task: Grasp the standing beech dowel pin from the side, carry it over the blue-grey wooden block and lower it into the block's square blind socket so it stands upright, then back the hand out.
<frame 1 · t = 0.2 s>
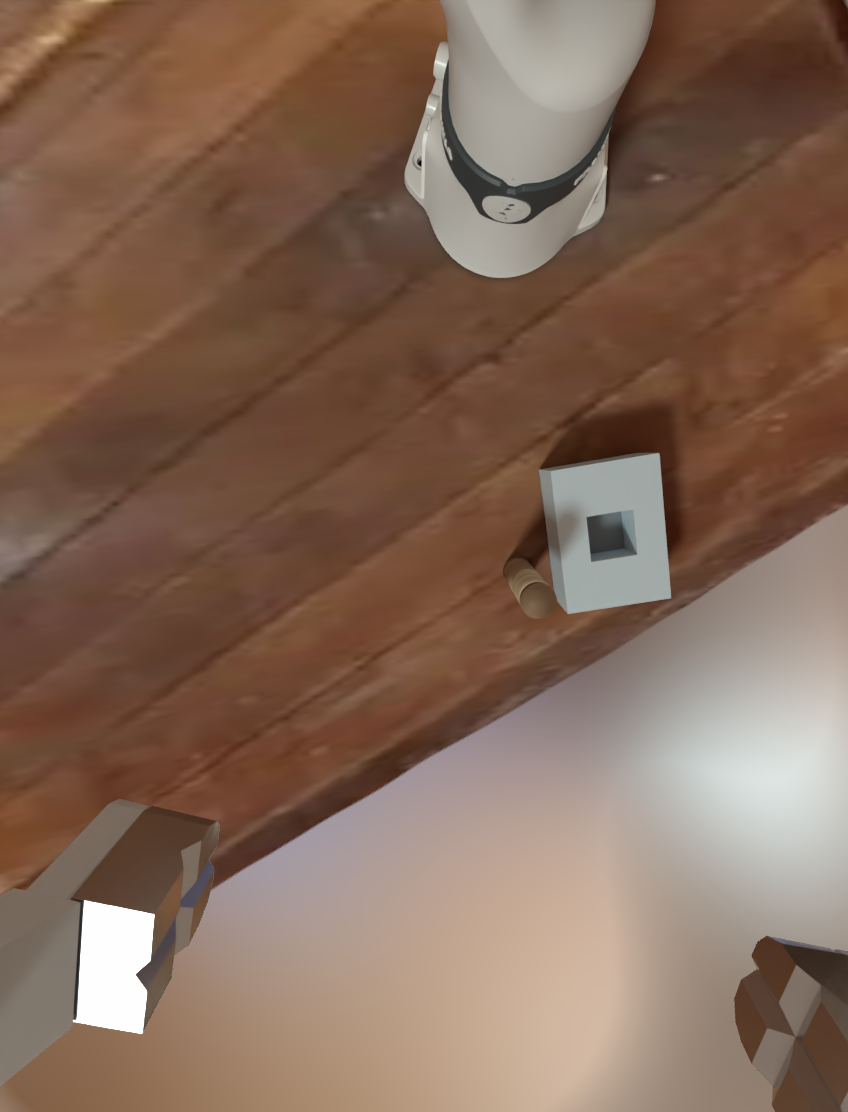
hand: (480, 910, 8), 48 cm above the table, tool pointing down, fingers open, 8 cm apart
socket block: (594, 527, 54), on the table
dowel pin: (517, 570, 55), on the table
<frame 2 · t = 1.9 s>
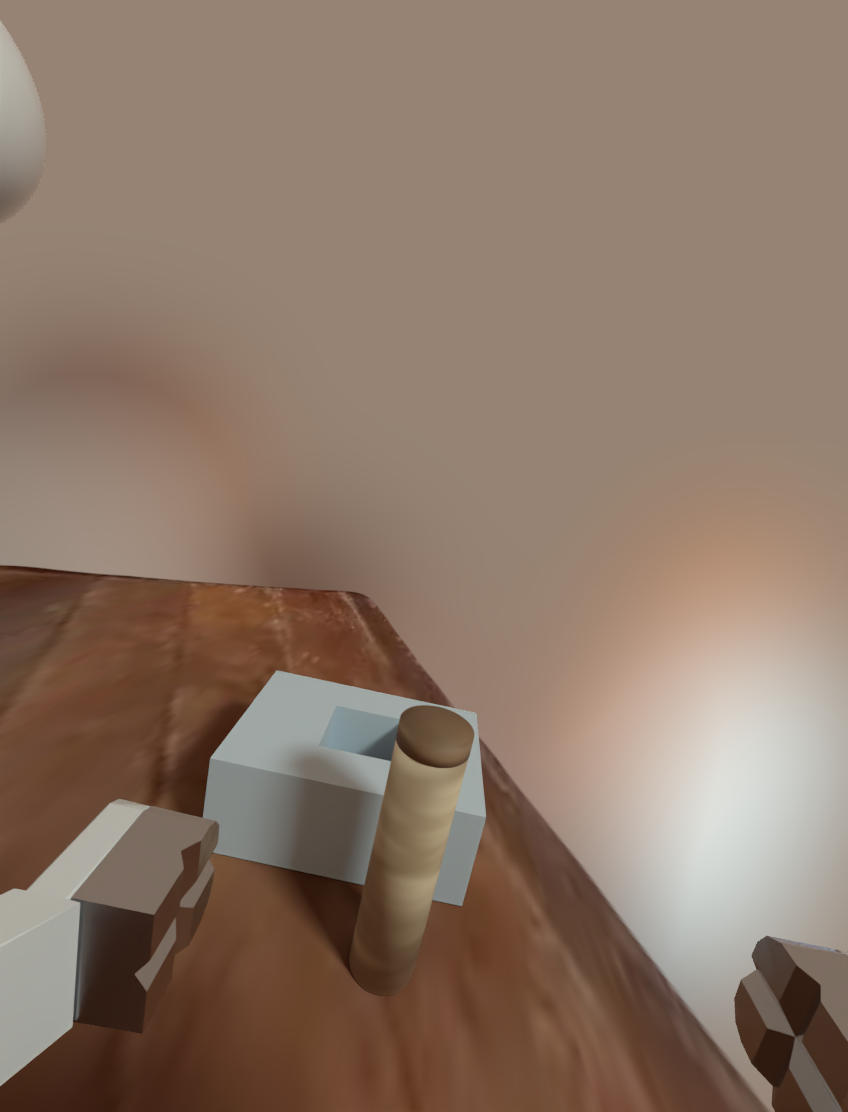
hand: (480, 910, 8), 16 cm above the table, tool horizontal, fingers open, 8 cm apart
socket block: (348, 810, 32), on the table
dowel pin: (381, 960, 23), on the table
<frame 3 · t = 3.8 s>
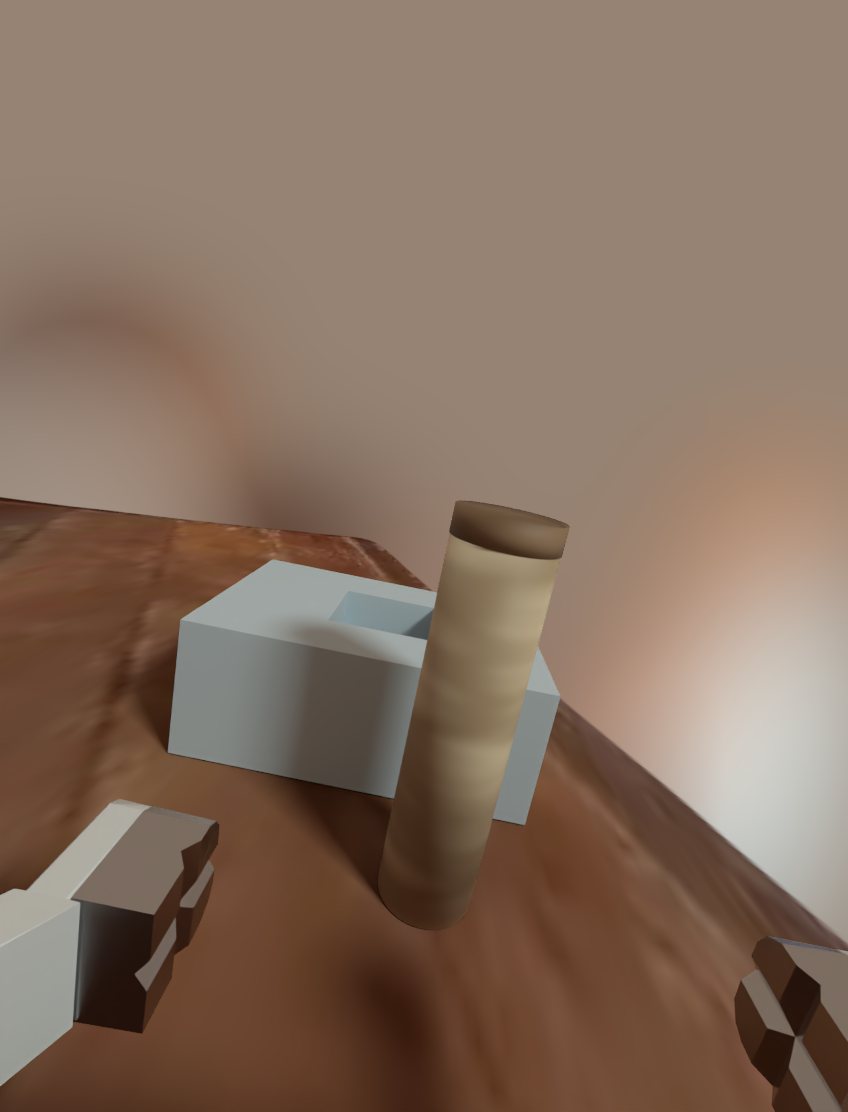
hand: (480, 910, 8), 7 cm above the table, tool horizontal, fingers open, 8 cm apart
socket block: (366, 720, 25), on the table
dowel pin: (424, 885, 16), on the table
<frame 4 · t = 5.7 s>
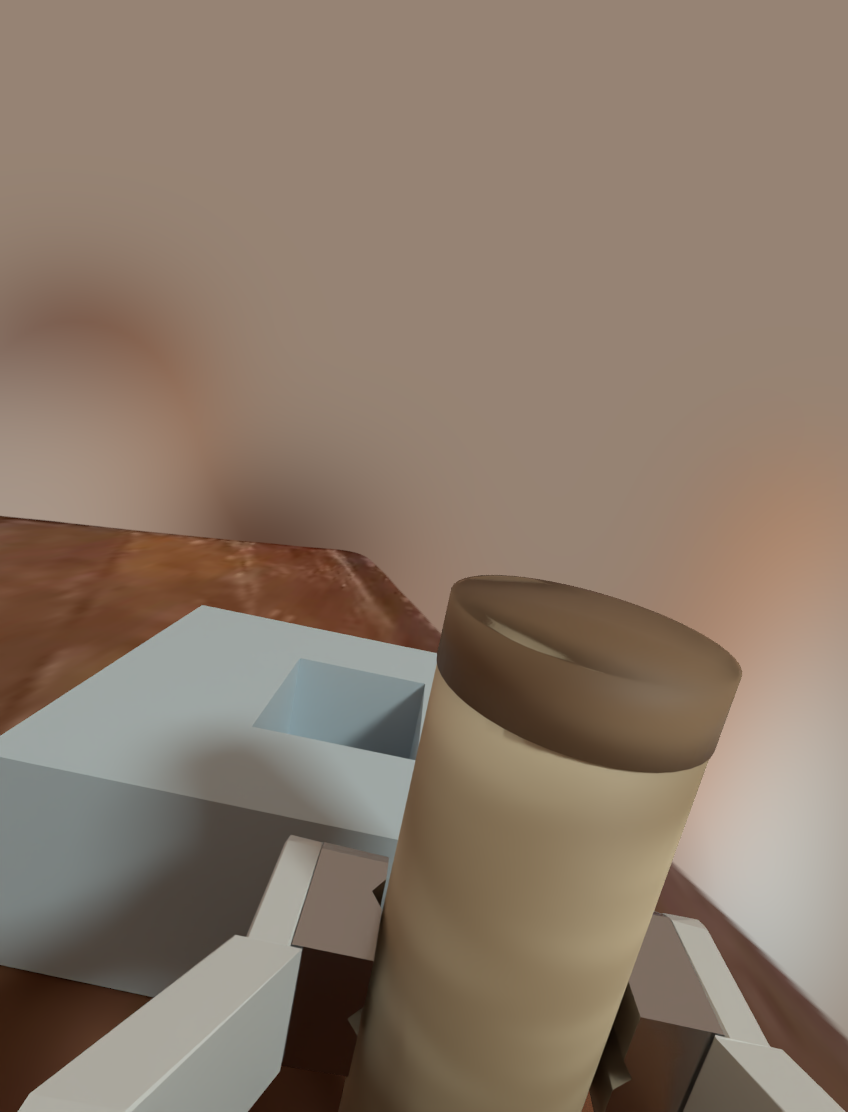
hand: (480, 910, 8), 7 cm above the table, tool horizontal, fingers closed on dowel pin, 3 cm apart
socket block: (322, 853, 17), on the table
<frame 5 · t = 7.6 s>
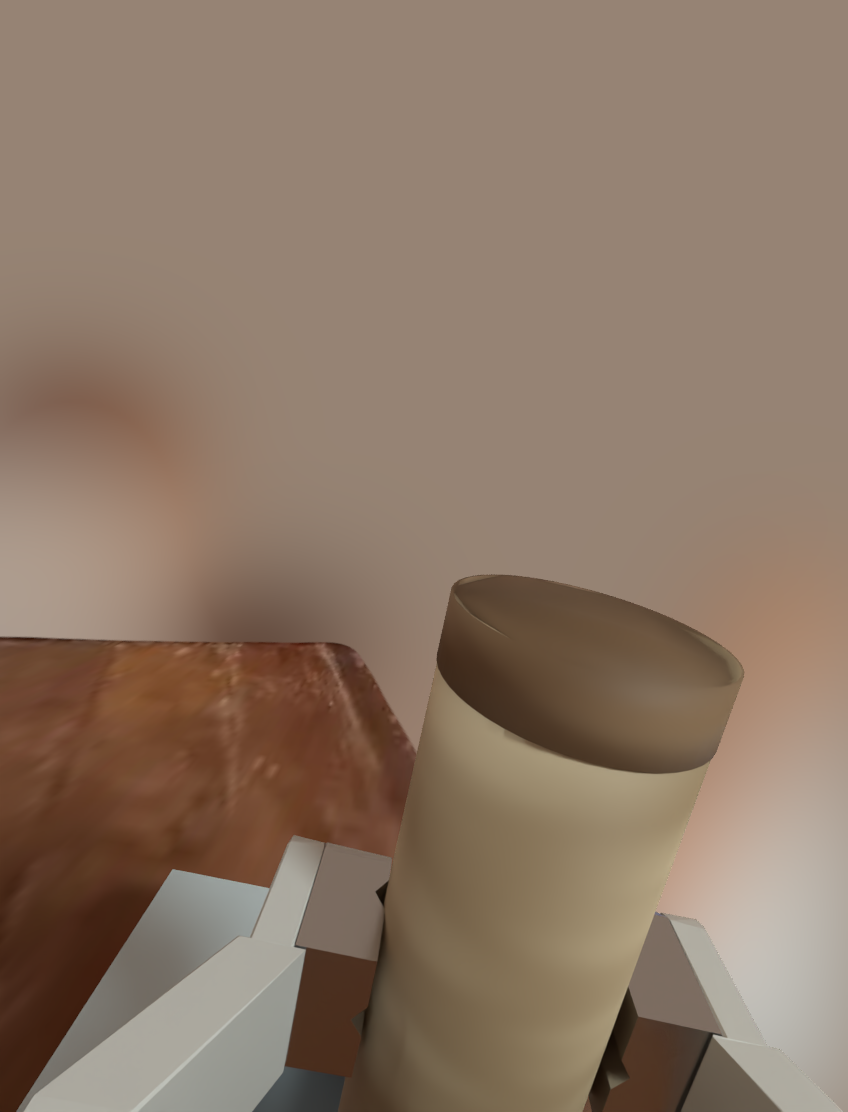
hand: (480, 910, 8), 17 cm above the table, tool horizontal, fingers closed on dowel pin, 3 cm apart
when the fingers open (10 cm above the table, at t = 9.5 s): dowel pin stays where it is, resting on socket block.
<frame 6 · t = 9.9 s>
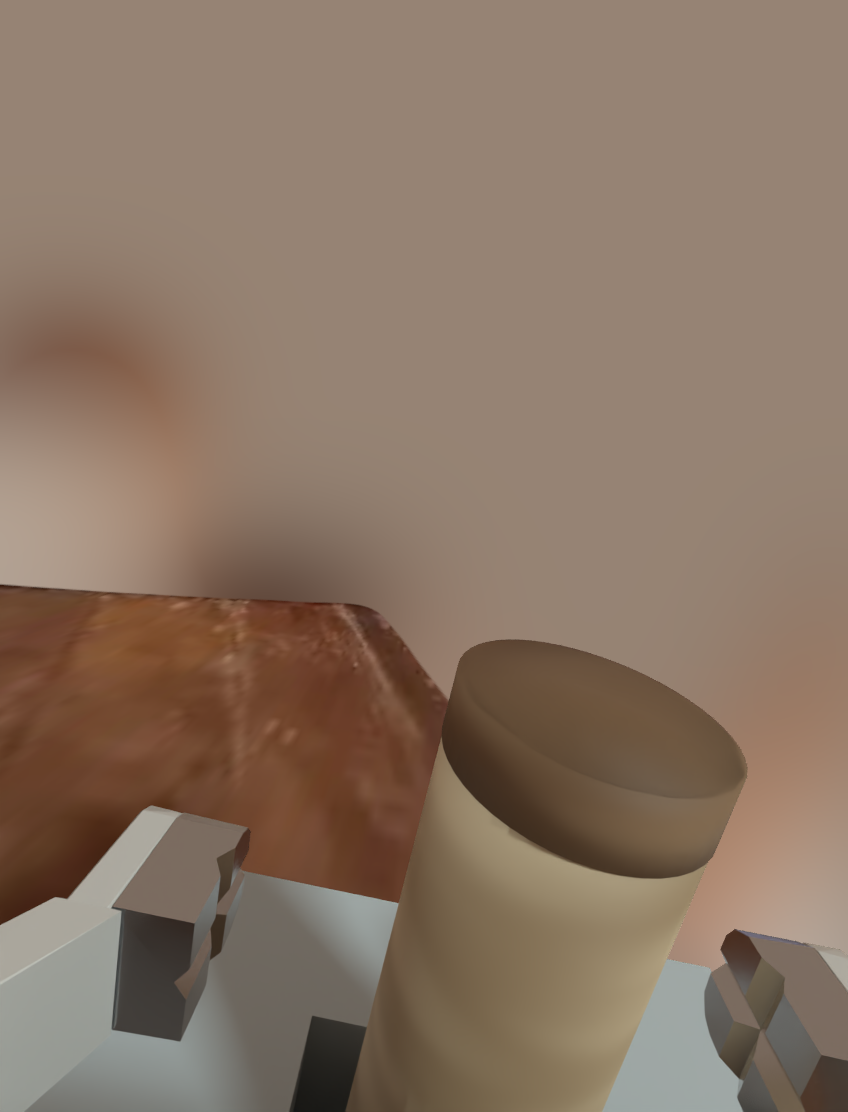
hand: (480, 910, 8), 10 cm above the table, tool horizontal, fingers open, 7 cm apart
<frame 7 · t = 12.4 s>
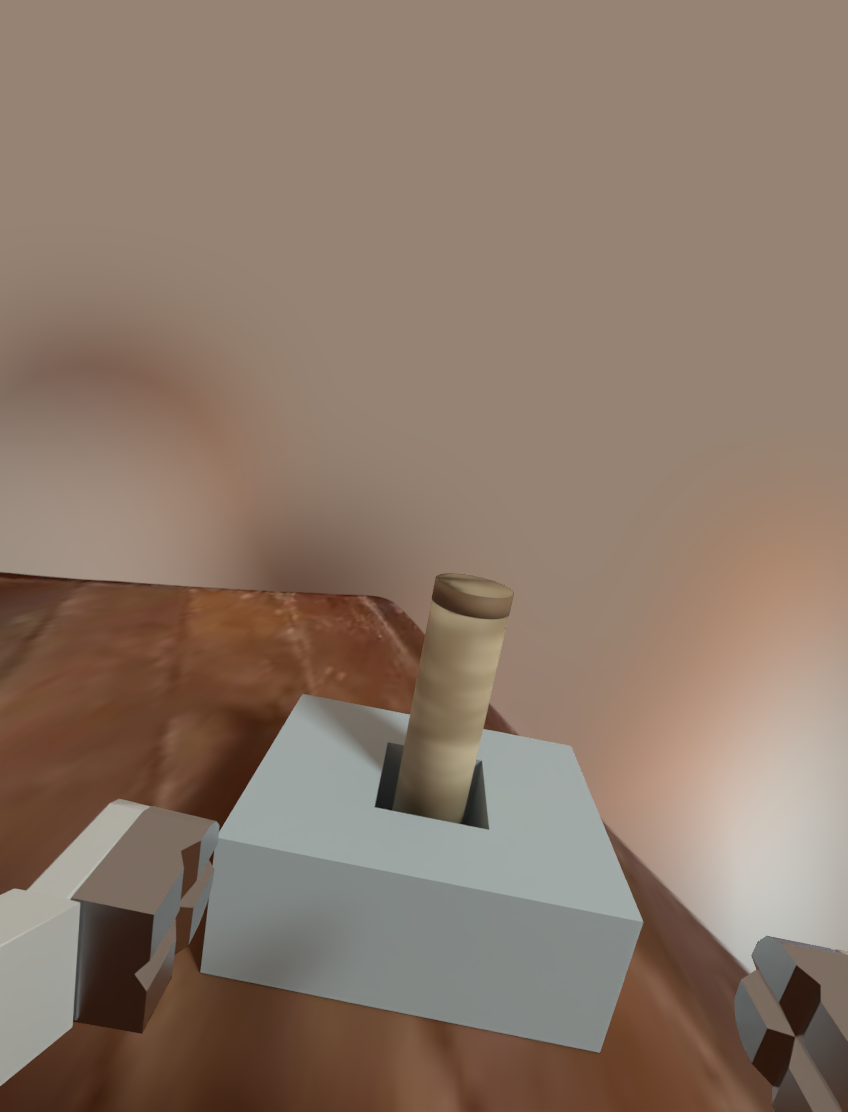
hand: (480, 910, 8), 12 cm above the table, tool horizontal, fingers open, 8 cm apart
socket block: (410, 890, 23), on the table
dowel pin: (419, 850, 22), point 2 cm above the table, touching socket block
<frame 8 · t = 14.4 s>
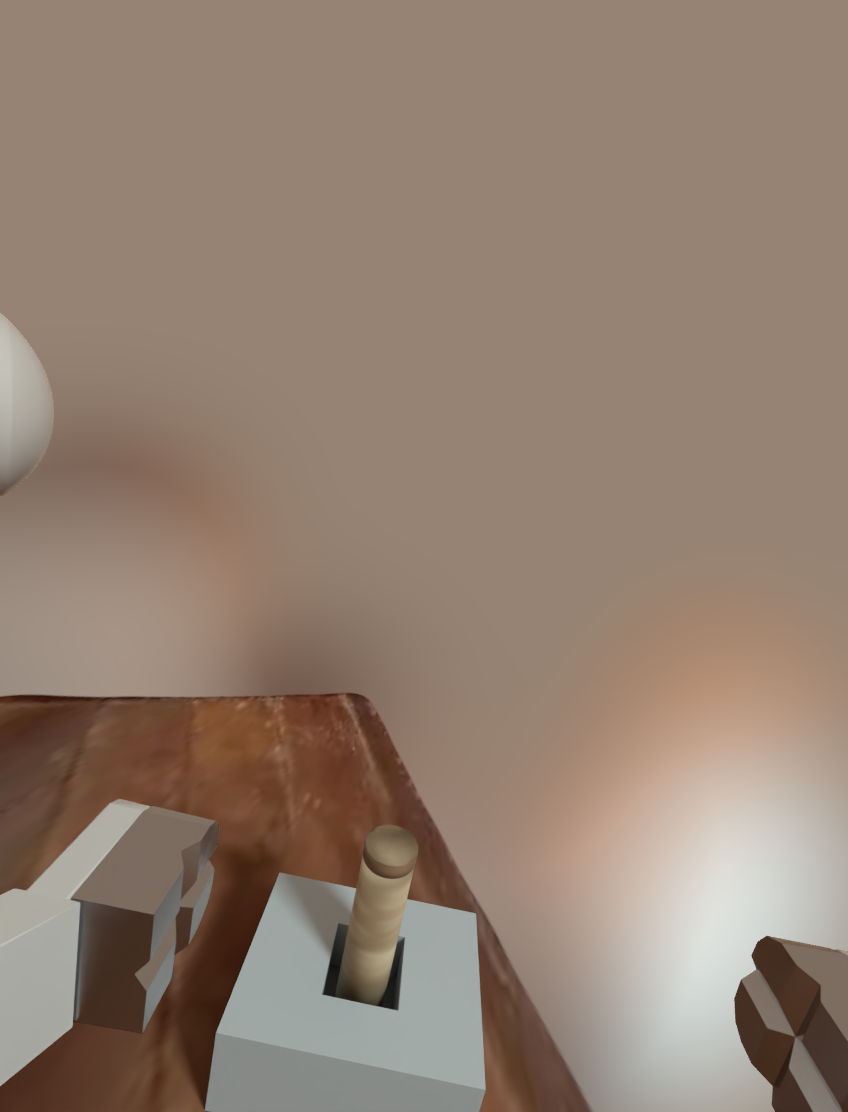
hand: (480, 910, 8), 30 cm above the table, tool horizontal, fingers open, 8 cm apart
socket block: (351, 1032, 32), on the table
dowel pin: (357, 1006, 32), point 2 cm above the table, touching socket block
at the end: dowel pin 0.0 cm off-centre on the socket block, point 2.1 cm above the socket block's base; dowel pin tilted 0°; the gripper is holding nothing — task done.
